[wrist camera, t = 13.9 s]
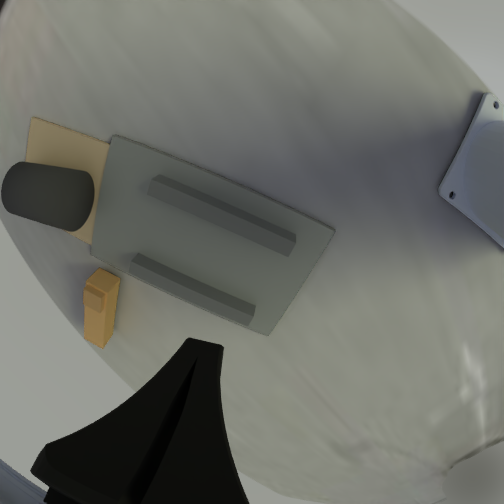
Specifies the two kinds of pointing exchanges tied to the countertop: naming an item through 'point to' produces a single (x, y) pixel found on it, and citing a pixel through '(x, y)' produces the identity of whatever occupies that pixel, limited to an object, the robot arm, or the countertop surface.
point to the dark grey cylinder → (49, 194)
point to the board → (187, 227)
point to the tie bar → (100, 306)
